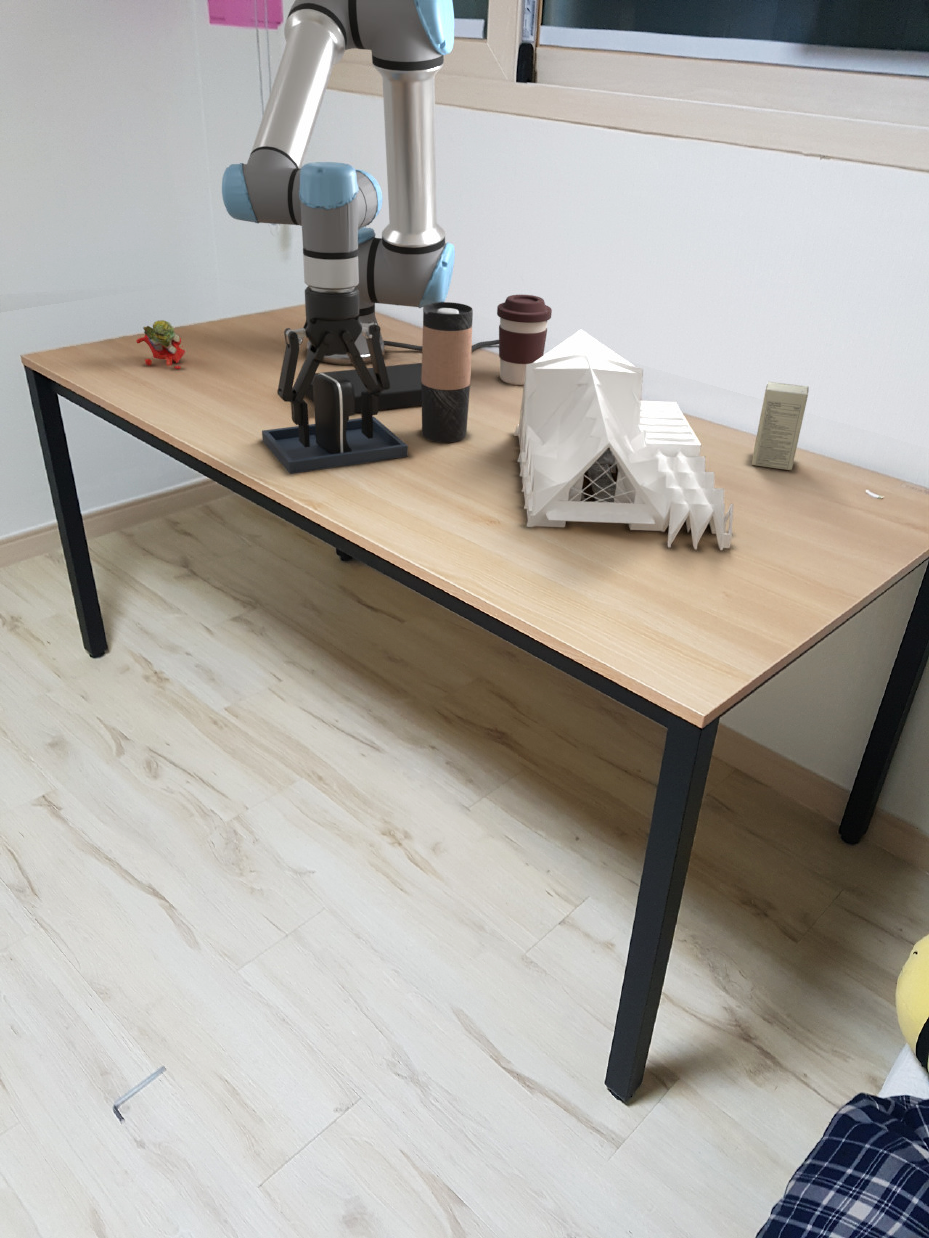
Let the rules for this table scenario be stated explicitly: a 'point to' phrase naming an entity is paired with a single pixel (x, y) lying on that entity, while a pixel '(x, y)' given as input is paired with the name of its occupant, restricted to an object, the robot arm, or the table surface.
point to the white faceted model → (638, 440)
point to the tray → (316, 458)
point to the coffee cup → (521, 335)
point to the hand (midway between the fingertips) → (336, 439)
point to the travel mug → (446, 370)
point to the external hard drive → (397, 396)
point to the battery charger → (332, 411)
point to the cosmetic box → (780, 425)
